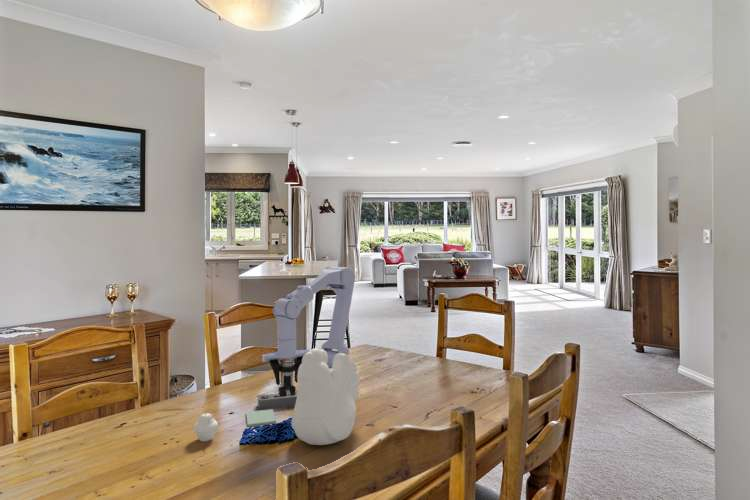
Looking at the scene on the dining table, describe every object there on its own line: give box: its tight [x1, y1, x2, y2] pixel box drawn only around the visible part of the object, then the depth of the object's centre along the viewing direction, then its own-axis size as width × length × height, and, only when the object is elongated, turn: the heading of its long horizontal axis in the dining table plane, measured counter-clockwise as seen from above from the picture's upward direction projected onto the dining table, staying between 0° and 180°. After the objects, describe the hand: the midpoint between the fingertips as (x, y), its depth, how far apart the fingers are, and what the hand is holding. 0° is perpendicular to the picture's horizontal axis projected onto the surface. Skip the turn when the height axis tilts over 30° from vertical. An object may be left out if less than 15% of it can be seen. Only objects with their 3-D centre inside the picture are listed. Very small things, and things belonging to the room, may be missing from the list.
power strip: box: [257, 390, 297, 411], centre depth 151 cm, size 18×5×4 cm, turn 108°
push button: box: [273, 360, 297, 397], centre depth 141 cm, size 7×5×10 cm
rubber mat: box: [245, 408, 277, 427], centre depth 139 cm, size 8×10×1 cm
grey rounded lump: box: [193, 412, 219, 442], centre depth 125 cm, size 6×6×7 cm
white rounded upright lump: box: [291, 347, 360, 446], centre depth 126 cm, size 25×16×25 cm, turn 136°
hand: (287, 382), depth 141 cm, fingers closed on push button, 5 cm apart
